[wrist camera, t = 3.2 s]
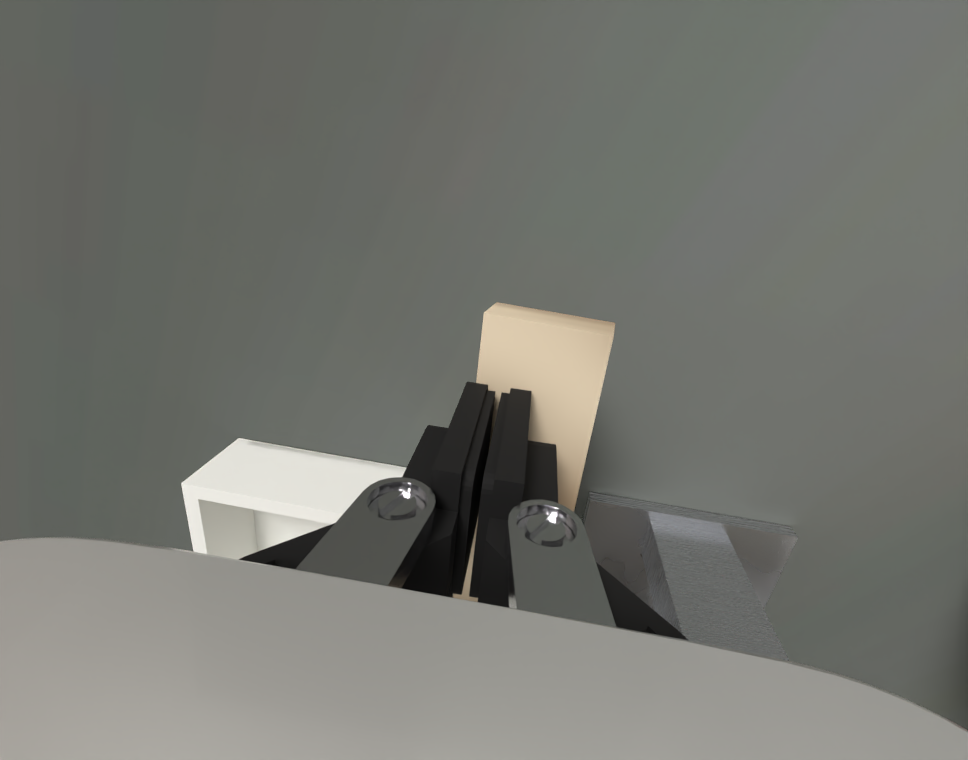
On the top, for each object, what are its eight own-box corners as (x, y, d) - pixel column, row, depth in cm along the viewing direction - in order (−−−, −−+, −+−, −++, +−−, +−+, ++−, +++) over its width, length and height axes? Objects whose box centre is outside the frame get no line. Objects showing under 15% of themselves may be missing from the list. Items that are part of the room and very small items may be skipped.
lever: (959, 912, 15) (1038, 1082, 12) (435, 712, 19) (401, 805, 16) (1447, 467, 8) (1886, 612, 5) (478, 299, 12) (432, 331, 9)
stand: (709, 703, 23) (780, 945, 16) (547, 668, 24) (543, 885, 16) (791, 527, 19) (943, 747, 11) (589, 491, 19) (609, 677, 12)
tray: (444, 641, 24) (426, 711, 21) (258, 602, 25) (214, 663, 22) (461, 477, 20) (442, 532, 17) (238, 438, 21) (181, 483, 18)
